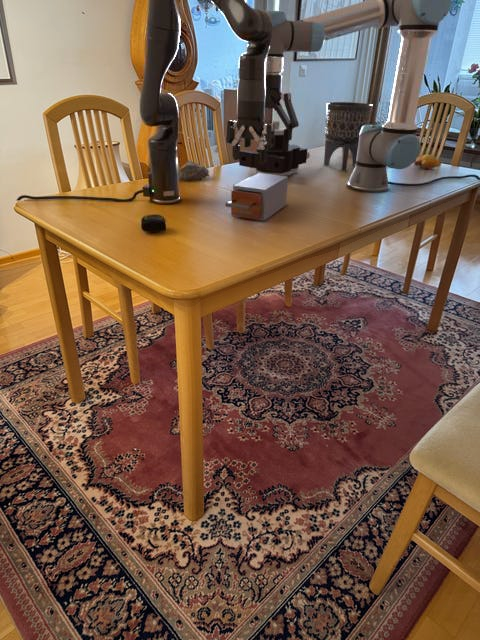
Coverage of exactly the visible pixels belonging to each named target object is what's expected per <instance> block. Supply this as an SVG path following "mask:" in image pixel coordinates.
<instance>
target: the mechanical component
mask: <svg viewBox="0 0 480 640" xmlns="http://www.w3.org/2000/svg"><path fill="white" fill-rule="evenodd" d="M272 124H274V125H275V145H274V147H271V148H269V149H268V151H267V161H265V163H264V164H260V150H261V148H260V146H258V147H257V148H256V151H250V150H245V149H241V150H240V159H239V160H238V166H240V167H245V168H250V169H255V173H256V174H258V173H263V174H271V175H279V176H291V175H292V173H298V171H299V167H300V165H303V164H304V165H305V164H307V160H309V158H310V156H311V154H310V152H309V151H308V148H304V147H301V146H299V145H297V144H290V143H289V147H288V151H286V152H282V151H283V136H284V129H286V127H280V121H279V120H272ZM263 134H264V136H265V138H266V142H267V133H266V132H265V129H264V130H263Z"/></svg>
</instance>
